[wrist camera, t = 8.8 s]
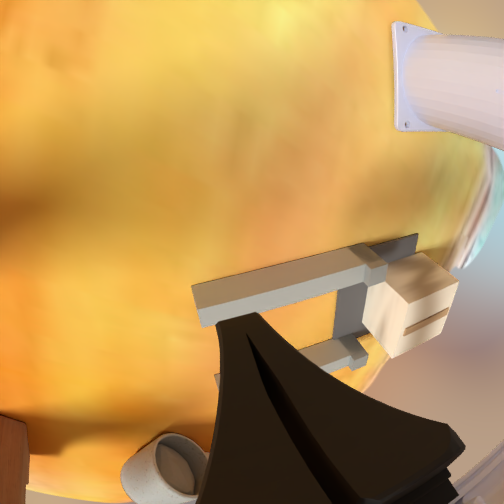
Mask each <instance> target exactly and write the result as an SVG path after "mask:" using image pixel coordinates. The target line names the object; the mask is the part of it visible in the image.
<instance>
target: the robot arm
mask: <svg viewBox="0 0 504 504" xmlns="http://www.w3.org/2000/svg"><path fill="white" fill-rule="evenodd" d="M403 28H404V31H403ZM392 40H393V58H394V126H395V129H396V130H398V131H402V132H407V131H441V132H452V133H455V134H458V135H461V136H464V137H467V138H470V139H473V140H476V141H479V142H481V143H484V144H487V145H490V146H492V147H495V148H498V149H500V150H503V151H504V39H501V38H492V37H480V36H465V35H445V34H442V33H439V32H436V31H432V30H429V29H426V28H422V27H419V26H415V25H412V24H408V23H404V22H400V21H395V22H393V23H392ZM405 123H406V126H405ZM215 326H216V330H217V335H218V339H219V346H220V384H219V398H218V407H217V415H216V422H215V429H214V434H213V439H212V444H211V449H210V454H209V458H208V463H207V466H206V470H205V474H204V477H203V481H202V484H201V488H200V491H199V495H198V498H197V501H196V504H504V440H503V441H502V442H501V443H500V444H499V445H497V446H496V447H495V448H494V449H493V450H492V451H491V452H490V453H489V454H488V455H487V456H486V457H485V458H483V459H482V460H481V461H480V462H479V463H478V464H477V465H475V466H474V467H473V468H472V469H471V470H469V471H468V472H467V473H466V474H465V475H464V476H462V477H461V478H460V479H458V480H457V481H456V482H454V483H453V484H451V482H450V481H449V479H448V478H449V477H451V474H450V472H449V471H448V469H447V467H448V466H449V465H450V464H451V463H452V462H453V461H454V460H455V459H456V458H457V457H458V456H459V455H461V454H462V452H463V451H464V450H465V445H464V443H463V442H462V440H461V439H460V438H459V437H458V435H457V434H456V432H454V430H452V429H451V428H450V426H449V425H448V424H445V423H441V422H437V421H433V420H429V419H426V418H422V417H419V416H416V415H413V414H410V413H407V412H404V411H401V410H399V409H396V408H393V407H391V406H389V405H386V404H384V403H382V402H380V401H377V400H375V399H373V398H370V397H368V396H366V395H364V394H363V393H361V392H359V391H357V390H355V389H353V388H351V387H350V386H348V385H346V384H344V383H343V382H341V381H339V380H338V379H336V378H335V377H333V376H332V375H330V374H329V373H327V372H326V371H324V370H323V369H321V368H320V367H318V366H317V365H316V364H314V363H313V362H312V361H310V360H309V359H308V358H306V357H305V356H304V355H303V354H301V353H300V352H299V351H298V350H297V349H295V348H294V347H293V346H292V345H291V344H289V343H288V342H287V341H286V340H285V339H284V338H283V337H282V336H280V335H279V334H278V333H277V332H276V331H275V330H274V329H273V328H272V327H271V326H270V325H269V324H268V323H267V322H266V321H265V320H264V319H263V318H262V316H261V315H260V314H259V313H257V312H252V313H249V314H245V315H241V316H237V317H234V318H230V319H226V320H222V321H218V322H217V324H216V325H215Z"/></svg>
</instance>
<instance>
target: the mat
mask: <svg viewBox="0 0 504 504" xmlns="http://www.w3.org/2000/svg"><path fill="white" fill-rule="evenodd" d="M417 239H418V234H417V233H416V234H413V235H409V236H406V237H402V238H399V239H395V240H392V241H388V242H384V243H381V244H377V245H374V246H370V247H369V248H370V249H371V250H372V251H374V252H375V253H376V254H377V255H378V256H380V257H381V258H382V259H383V260H384V261H385V262H387V263H389V262H393V261H396V260H399V259H402V258H405V257H408V256H411V255H414V254H415V250H416V245H417ZM367 290H368V286H367V285H366V284H365V283H364V282H361V283H358V284H355V285H352V286H348V287H345V288H342V289H339V290H338V292H337V302H336V312H335V320H334V329H333V337H332V339H333V340H335V339H338V338H340V337H343V336H346V335H348V334H351V333H352V334H353V335H354V336H355V338H358V337H361V336H363V335H366V334H368V333H370V331H369V330H368V329H367V328H366V327H365V325H364V324H363V323H362V319H363V313H364V308H365V302H366V296H367Z"/></svg>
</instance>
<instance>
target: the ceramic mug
mask: <svg viewBox="0 0 504 504" xmlns="http://www.w3.org/2000/svg"><path fill="white" fill-rule="evenodd" d="M208 458H209V452H204V451H203V450H202V449H201V447H200V446H199V445H198V444H196V443H195V442H194V441H193V440H191V439H189V438H187V437H186V436H183V435H180V434H176V433H167V434H163V435H161V436H159V437H158V438H157V439H155V440H154V441H153V442H151V443H150V444H148V445H147V446H146V447H144V448H143V449H142V450H140V451H139V452H137V453H136V454H134V455H133V456H132V457H130V458H129V459H128V460H127V461H126V463H125V464H124V466H123V467H122V470H121V475H120V477H121V483H122V486H123V489H124V491H125V492H126V494H127V495H128V496H129V498H130V499H131V500H132V501H134V502H135V503H136V504H182V503H186V502H189V501H192V500H195V499H197V498H198V495H199V491H200V488H201V484H202V481H203V477H204V474H205V470H206V466H207V463H208Z"/></svg>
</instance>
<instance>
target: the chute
mask: <svg viewBox="0 0 504 504" xmlns="http://www.w3.org/2000/svg"><path fill="white" fill-rule="evenodd" d="M387 268H388V263H387V262H385V261H384V260H383V259H382V258H381V257H380V256H378V255H377V254H376V253H375V252H374V251H372V250H371V249H370V248H369V247H368V246H366V245H365V244H364V243H361V244H357V245H353V246H349V247H345V248H342V249H338V250H334V251H330V252H326V253H322V254H318V255H314V256H310V257H307V258H303V259H299V260H295V261H291V262H287V263H283V264H279V265H275V266H271V267H267V268H263V269H259V270H255V271H251V272H247V273H243V274H238V275H234V276H230V277H226V278H222V279H218V280H214V281H210V282H205V283H201V284H197V285H193V286H191V288H192V292H193V297H194V301H195V305H196V308H197V312H198V316H199V319H200V323H201V326H202V328H204V327H208V326H212V325H216V324H217V322H218V321H222V320H226V319H230V318H234V317H237V316H241V315H245V314H249V313H252V312H257V313H261V312H265V311H268V310H272V309H275V308H279V307H282V306H286V305H289V304H293V303H296V302H300V301H303V300H306V299H310V298H313V297H316V296H320V295H323V294H326V293H329V292H333V291H336V290H339V289H342V288H345V287H348V286H352V285H355V284H358V283H361V282H364V283H365V284H366V285H367V286H368V287H370V286H373V285H376V284H379V283H382V282H385V279H386V274H387ZM298 351H299V352H300V353H301V354H303V355H304V356H305V357H306V358H308V359H309V360H310V361H312V362H313V363H314V364H316V365H317V366H318V367H320V368H321V369H323V370H324V371H326V372H327V373H331V372H334V371H336V370H339V369H341V368H344V367H346V366H349V368H350V369H351V371H353V370H356V369H358V368H360V367H363V366H365V365H366V363H367V359H368V355H369V354H368V353H367V352H366V351H365V349H364V348H363V347H362V345H361V344H360V343H359V342H358V340H357V339H356V338H355V336H354V335H353V334H352V333H351V334H348V335H346V336H343V337H340V338H338V339H335V340H333V339H330V340H327V341H324V342H321V343H319V344H316V345H313V346H310V347H307V348H304V349H301V350H298ZM214 376H215V380H216V383H217V387H218V390H219V384H220V374H216V375H214Z"/></svg>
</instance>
